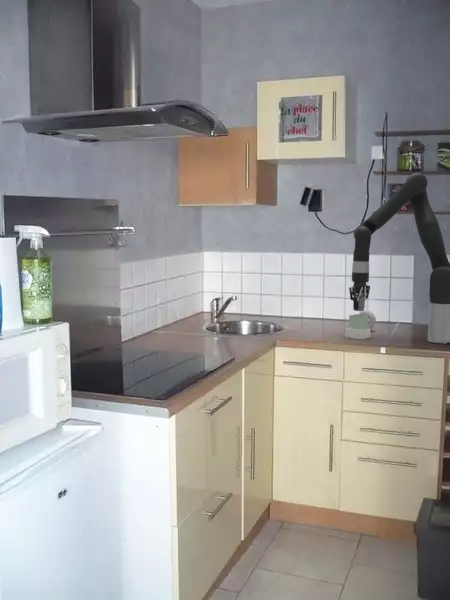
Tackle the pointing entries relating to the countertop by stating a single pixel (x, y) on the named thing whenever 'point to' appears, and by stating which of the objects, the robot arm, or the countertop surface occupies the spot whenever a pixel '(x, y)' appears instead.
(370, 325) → the donut
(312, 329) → the countertop surface
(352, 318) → the sage cube
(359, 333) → the ceramic pedestal
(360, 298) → the charcoal cylinder
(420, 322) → the countertop surface
